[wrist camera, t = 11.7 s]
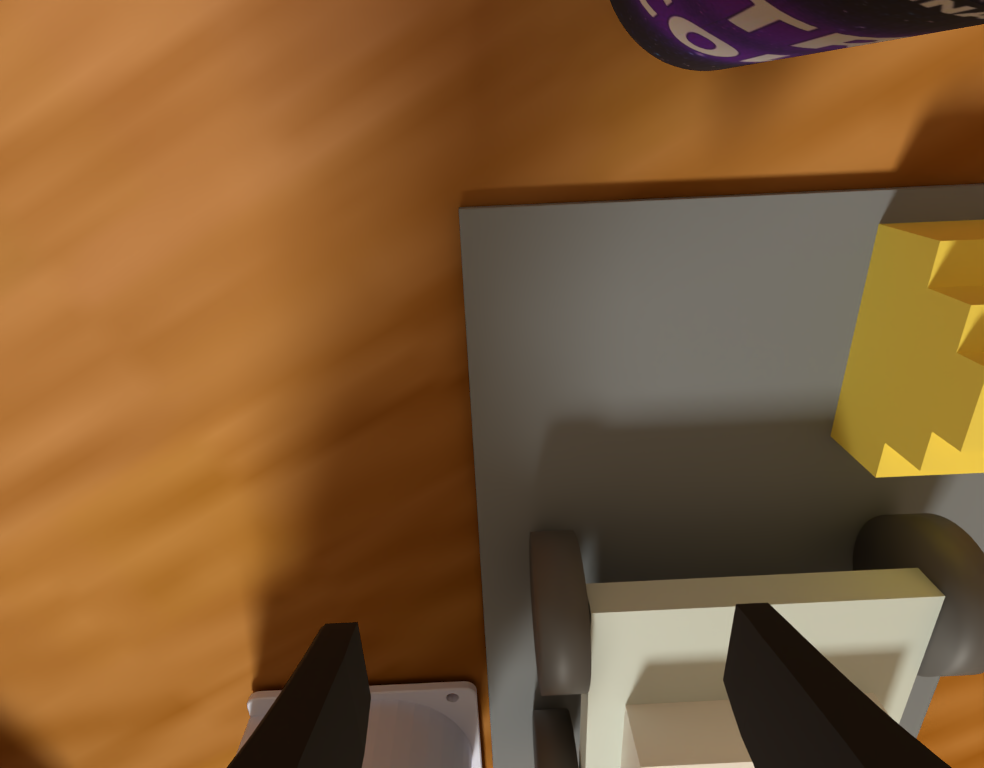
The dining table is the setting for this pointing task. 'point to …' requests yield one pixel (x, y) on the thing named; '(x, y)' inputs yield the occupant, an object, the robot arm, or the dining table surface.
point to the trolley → (706, 634)
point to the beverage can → (779, 26)
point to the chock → (918, 354)
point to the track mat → (674, 400)
